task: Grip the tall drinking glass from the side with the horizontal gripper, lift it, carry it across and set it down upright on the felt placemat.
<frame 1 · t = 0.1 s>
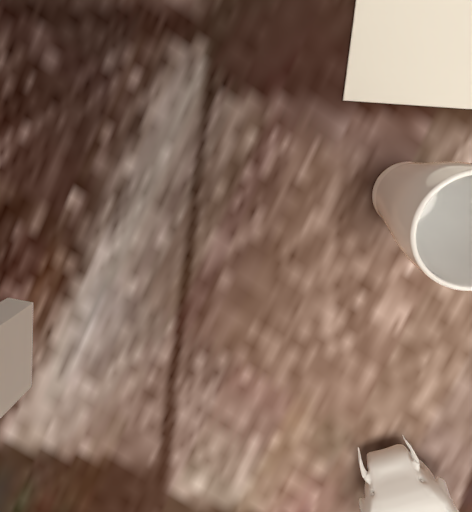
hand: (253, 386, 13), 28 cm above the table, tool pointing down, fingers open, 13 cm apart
elephant figurine: (394, 470, 46), on the table
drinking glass: (402, 192, 38), on the table
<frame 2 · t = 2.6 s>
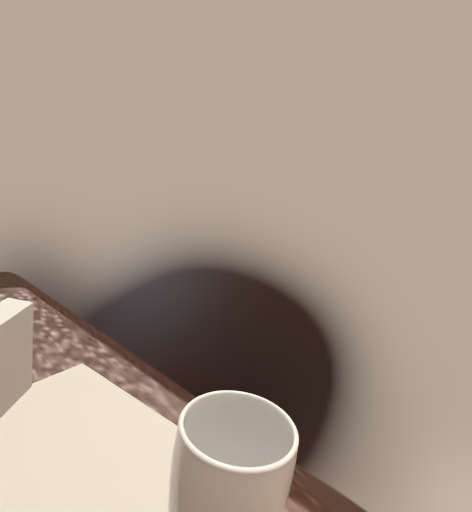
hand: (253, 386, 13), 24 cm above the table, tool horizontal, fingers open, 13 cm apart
felt placemat: (72, 452, 41), on the table
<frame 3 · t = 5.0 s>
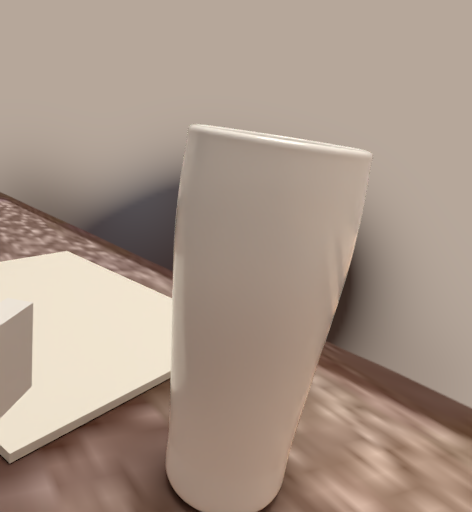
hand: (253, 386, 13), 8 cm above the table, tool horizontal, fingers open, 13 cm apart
felt placemat: (49, 317, 32), on the table
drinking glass: (222, 478, 20), on the table
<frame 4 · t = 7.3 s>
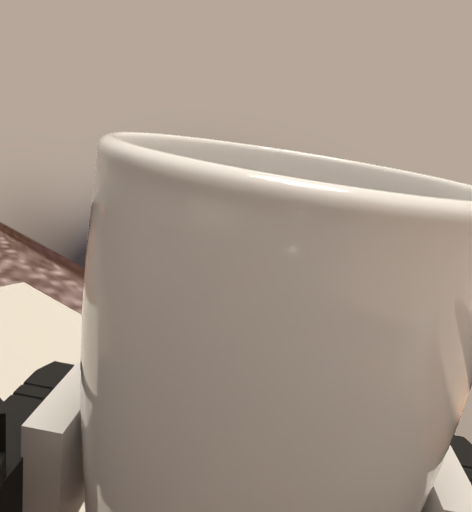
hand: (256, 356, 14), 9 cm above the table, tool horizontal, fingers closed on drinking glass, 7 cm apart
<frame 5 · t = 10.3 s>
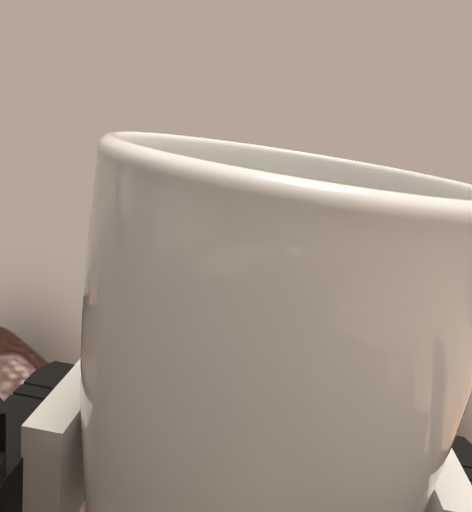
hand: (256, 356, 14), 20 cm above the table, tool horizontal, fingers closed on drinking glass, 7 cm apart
when the fingers open (10 cm above the table, at t = 13.2 s): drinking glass drops 1 cm, resting on felt placemat.
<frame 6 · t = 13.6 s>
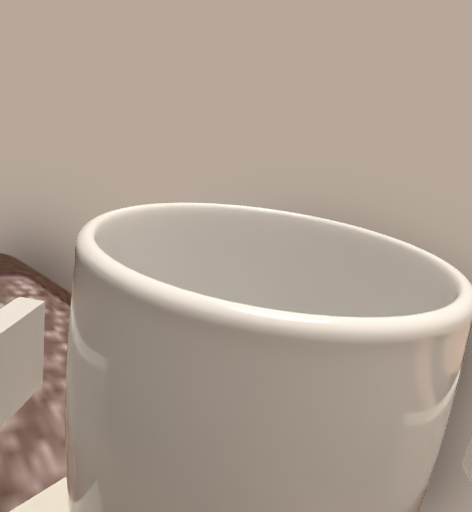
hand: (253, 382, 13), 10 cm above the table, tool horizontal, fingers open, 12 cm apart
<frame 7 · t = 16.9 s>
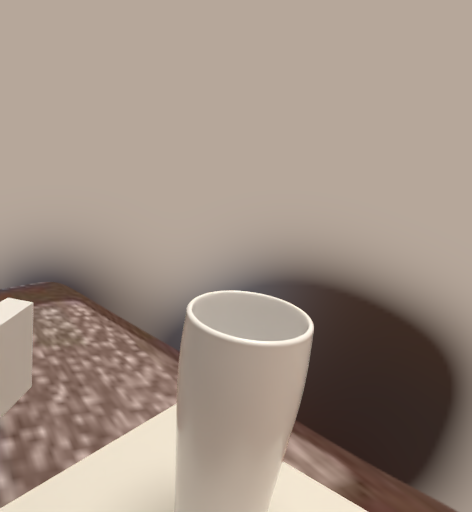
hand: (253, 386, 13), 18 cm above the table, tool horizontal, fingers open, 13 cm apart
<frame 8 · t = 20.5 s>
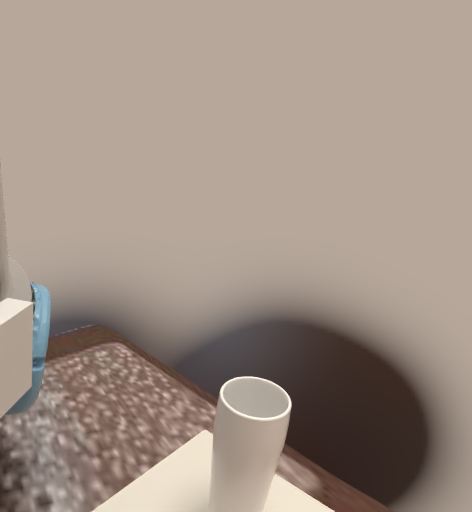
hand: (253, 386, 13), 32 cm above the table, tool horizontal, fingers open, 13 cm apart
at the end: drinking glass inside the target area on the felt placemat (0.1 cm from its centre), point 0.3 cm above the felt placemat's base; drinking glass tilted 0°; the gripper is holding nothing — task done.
